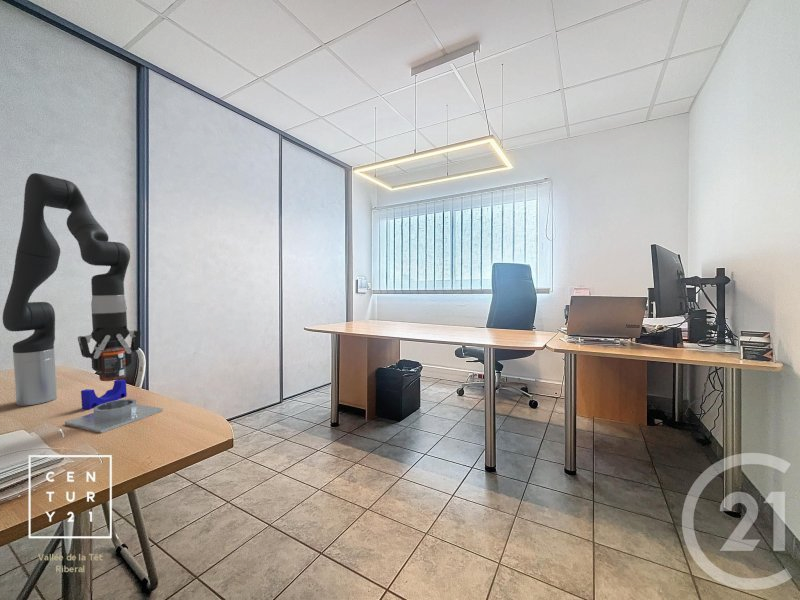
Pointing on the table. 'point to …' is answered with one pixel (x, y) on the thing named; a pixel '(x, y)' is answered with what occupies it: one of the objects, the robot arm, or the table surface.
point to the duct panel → (114, 423)
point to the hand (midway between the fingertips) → (112, 368)
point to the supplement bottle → (112, 362)
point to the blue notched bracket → (111, 395)
